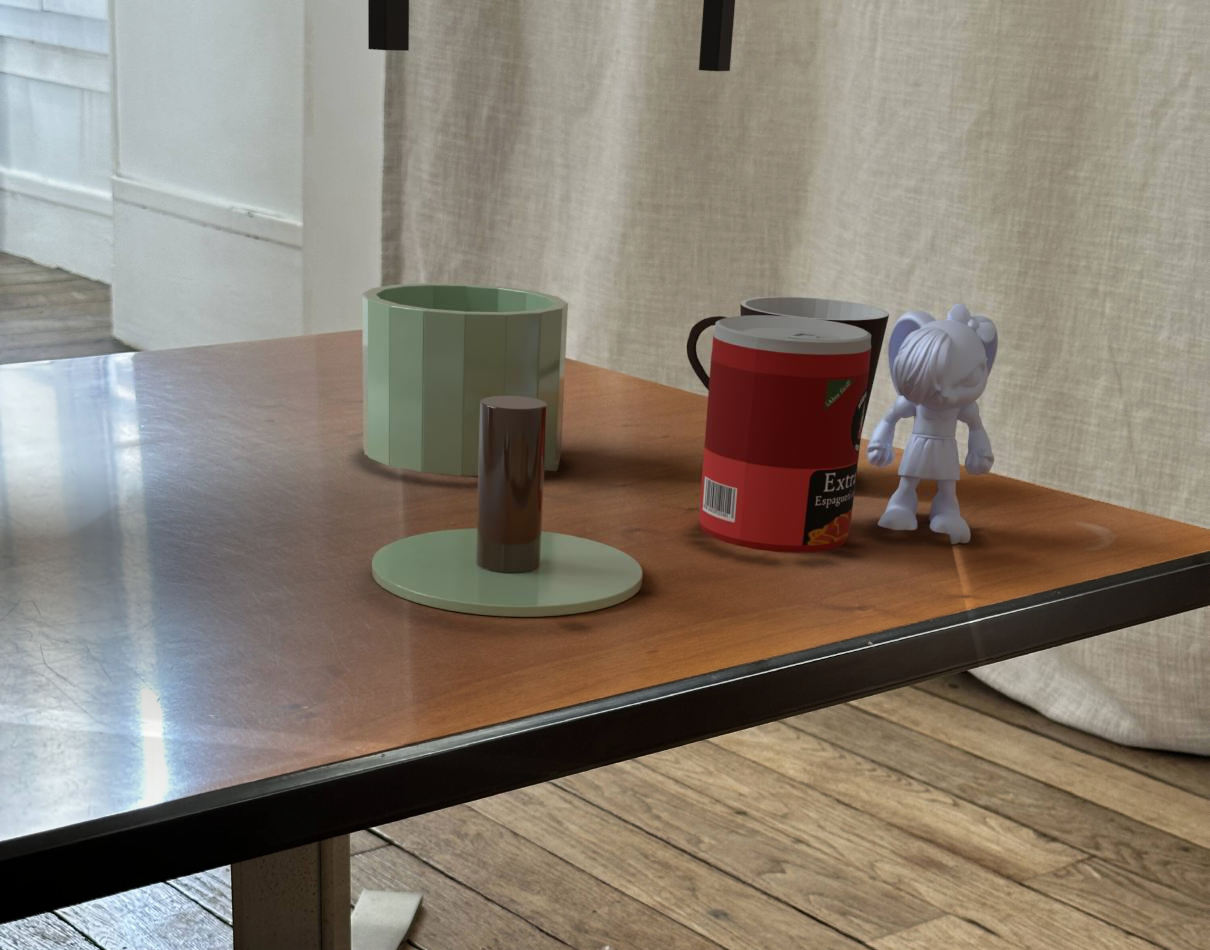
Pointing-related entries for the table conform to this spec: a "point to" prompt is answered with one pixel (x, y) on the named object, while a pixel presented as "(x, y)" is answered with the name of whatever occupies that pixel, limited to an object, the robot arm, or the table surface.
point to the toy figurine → (936, 412)
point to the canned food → (783, 432)
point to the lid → (508, 538)
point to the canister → (455, 369)
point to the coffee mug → (806, 308)
